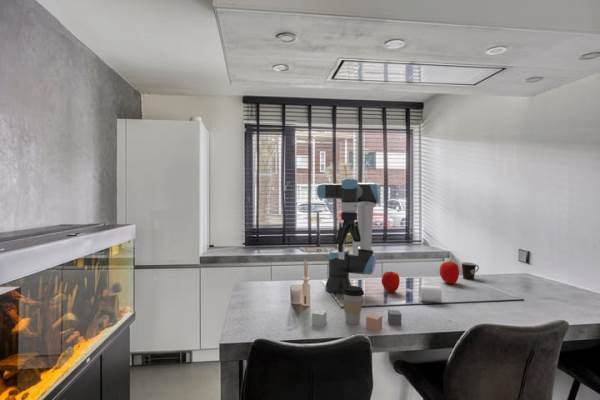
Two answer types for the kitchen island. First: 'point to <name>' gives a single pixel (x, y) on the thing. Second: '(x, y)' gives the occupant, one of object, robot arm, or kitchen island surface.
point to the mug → (430, 294)
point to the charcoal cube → (394, 317)
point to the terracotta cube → (374, 322)
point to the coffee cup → (352, 304)
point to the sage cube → (319, 317)
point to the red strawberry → (449, 272)
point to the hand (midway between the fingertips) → (348, 257)
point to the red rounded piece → (390, 281)
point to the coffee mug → (469, 270)
